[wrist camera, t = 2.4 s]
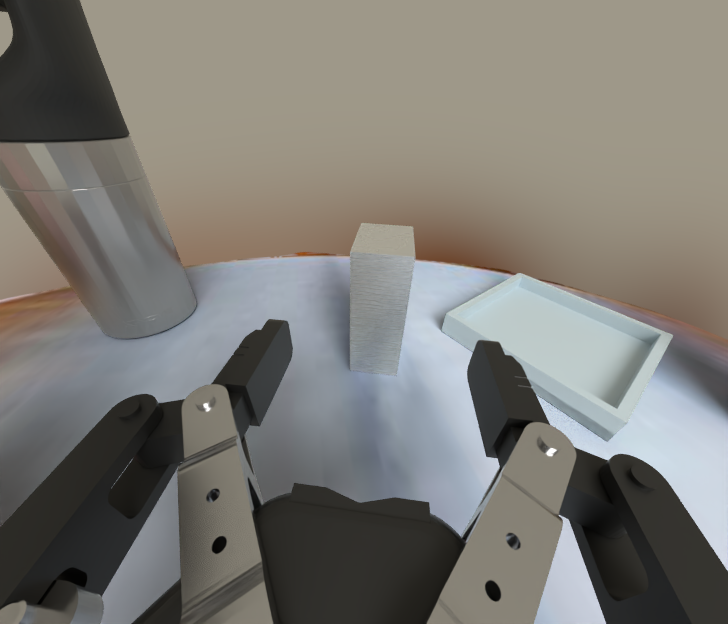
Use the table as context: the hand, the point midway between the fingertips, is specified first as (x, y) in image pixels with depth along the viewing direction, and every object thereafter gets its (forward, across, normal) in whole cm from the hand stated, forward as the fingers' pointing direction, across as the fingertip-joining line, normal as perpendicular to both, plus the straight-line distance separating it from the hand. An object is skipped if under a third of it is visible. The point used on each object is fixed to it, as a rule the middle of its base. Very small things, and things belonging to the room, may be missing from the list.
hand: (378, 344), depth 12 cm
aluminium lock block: (+12, 0, +12) cm, 16 cm away
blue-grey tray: (+16, -18, +12) cm, 27 cm away
